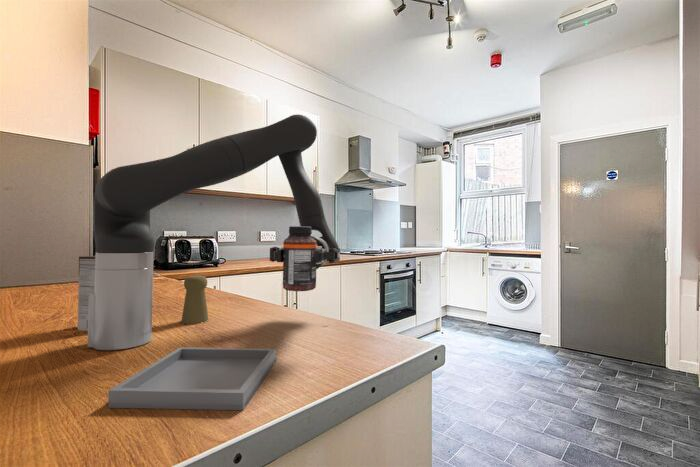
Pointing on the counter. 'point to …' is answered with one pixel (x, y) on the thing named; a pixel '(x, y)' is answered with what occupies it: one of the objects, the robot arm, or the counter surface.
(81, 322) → the coffee box
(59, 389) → the counter surface
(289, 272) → the supplement bottle
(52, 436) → the counter surface
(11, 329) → the counter surface
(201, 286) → the cork
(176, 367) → the tray
